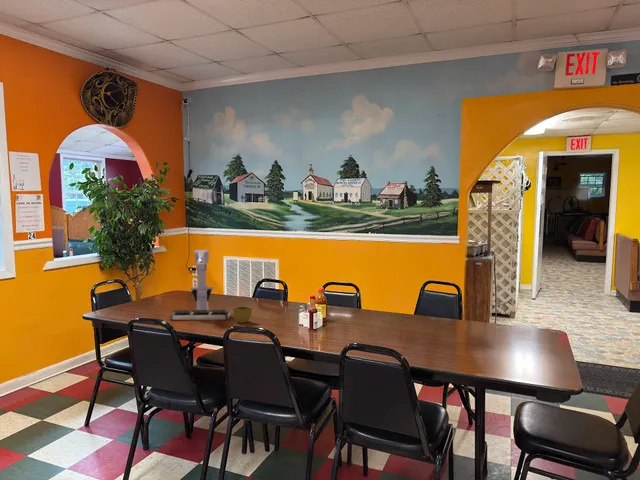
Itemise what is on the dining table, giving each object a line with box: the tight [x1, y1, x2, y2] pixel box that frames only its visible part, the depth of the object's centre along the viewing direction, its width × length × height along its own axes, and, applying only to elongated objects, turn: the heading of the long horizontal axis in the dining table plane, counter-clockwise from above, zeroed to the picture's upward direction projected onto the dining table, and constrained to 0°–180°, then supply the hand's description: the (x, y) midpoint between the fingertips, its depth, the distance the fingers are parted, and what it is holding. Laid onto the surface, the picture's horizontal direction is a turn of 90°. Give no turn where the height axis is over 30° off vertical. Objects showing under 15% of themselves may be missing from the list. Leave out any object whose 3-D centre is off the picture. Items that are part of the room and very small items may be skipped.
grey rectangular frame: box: [172, 309, 192, 313], centre depth 295 cm, size 7×10×2 cm
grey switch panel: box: [169, 310, 231, 321], centre depth 295 cm, size 9×37×3 cm, turn 92°
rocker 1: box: [191, 309, 210, 313], centre depth 295 cm, size 7×10×2 cm
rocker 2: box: [209, 309, 228, 312], centre depth 296 cm, size 7×10×2 cm
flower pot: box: [232, 305, 253, 324], centre depth 285 cm, size 9×9×9 cm
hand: (202, 300), depth 299 cm, fingers open, 7 cm apart
